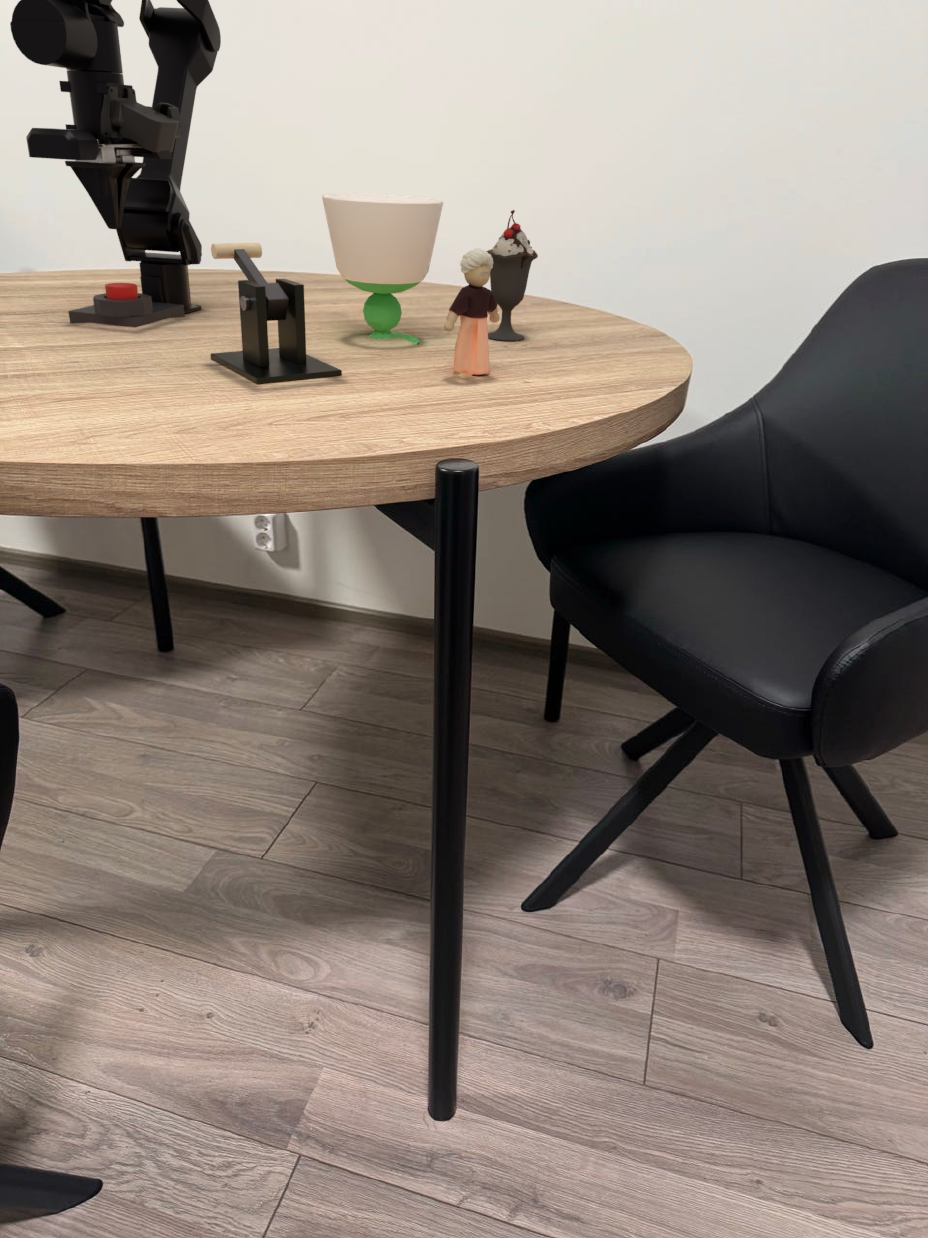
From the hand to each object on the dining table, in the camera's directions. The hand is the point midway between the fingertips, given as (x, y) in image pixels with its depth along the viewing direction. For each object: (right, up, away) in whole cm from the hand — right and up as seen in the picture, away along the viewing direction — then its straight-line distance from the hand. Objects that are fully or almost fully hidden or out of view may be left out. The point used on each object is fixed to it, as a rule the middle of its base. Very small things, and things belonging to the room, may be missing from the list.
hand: (114, 228), depth 106 cm
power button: (0, -7, +4) cm, 8 cm away
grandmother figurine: (+41, -20, -11) cm, 47 cm away
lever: (+19, -12, -13) cm, 26 cm away
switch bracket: (+21, -20, -13) cm, 32 cm away
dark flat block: (-1, -8, +8) cm, 11 cm away
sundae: (+46, -10, +10) cm, 48 cm away
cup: (+31, -12, +5) cm, 33 cm away
